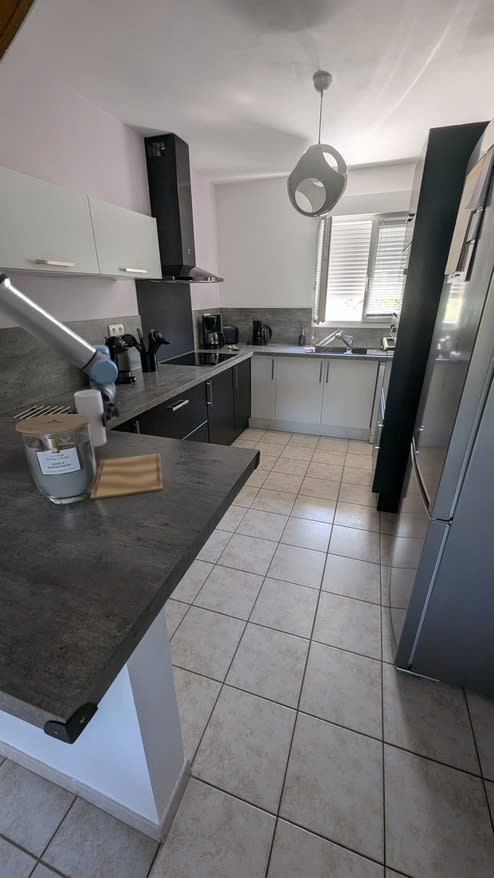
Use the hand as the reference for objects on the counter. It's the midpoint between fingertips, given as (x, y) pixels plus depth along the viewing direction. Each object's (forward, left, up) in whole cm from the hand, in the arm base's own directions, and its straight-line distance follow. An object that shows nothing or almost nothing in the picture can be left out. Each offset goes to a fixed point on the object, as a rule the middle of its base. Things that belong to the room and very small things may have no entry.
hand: (89, 423), depth 93 cm
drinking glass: (-5, 0, -8) cm, 10 cm away
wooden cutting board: (+10, +9, -12) cm, 18 cm away
